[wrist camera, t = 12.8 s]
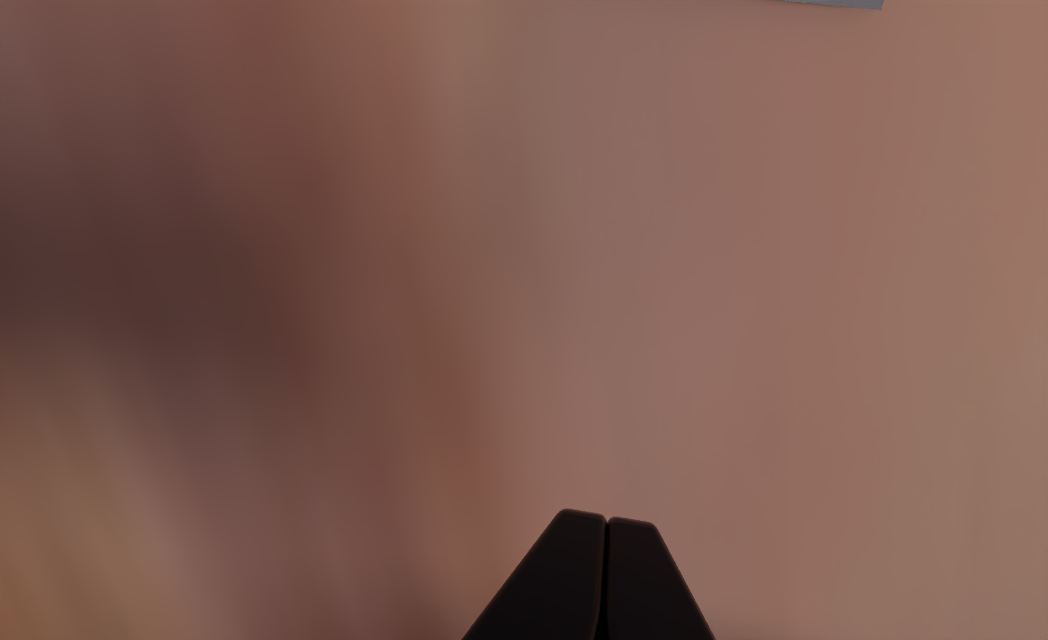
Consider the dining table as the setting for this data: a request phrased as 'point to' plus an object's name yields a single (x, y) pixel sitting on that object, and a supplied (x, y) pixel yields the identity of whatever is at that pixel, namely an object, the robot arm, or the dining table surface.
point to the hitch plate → (847, 3)
